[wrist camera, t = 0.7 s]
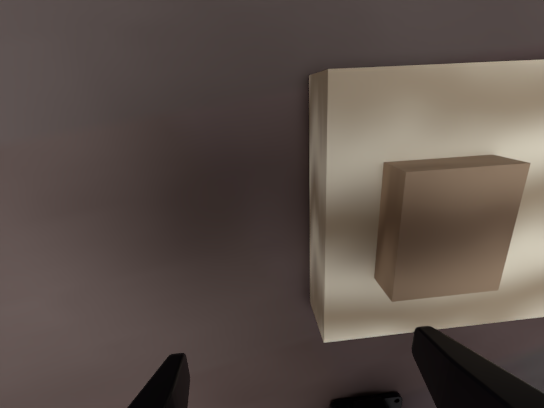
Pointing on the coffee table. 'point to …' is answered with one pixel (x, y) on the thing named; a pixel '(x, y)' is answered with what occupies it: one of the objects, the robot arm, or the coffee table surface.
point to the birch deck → (416, 146)
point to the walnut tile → (446, 224)
